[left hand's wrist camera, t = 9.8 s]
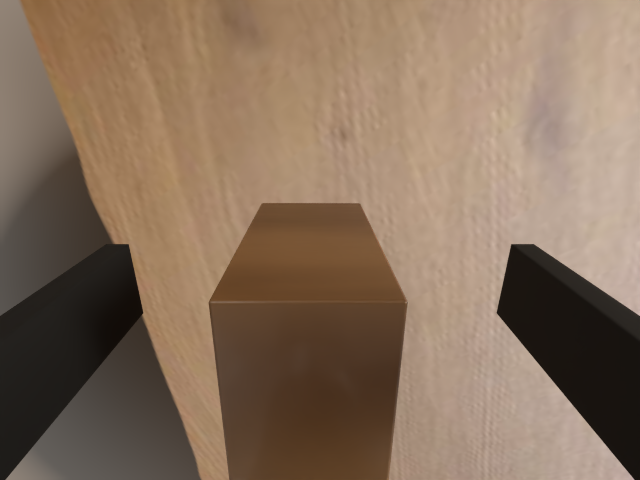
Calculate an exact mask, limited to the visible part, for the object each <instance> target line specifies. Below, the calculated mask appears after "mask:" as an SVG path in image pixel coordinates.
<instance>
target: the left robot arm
mask: <svg viewBox="0 0 640 480" xmlns="http://www.w3.org/2000/svg"><path fill="white" fill-rule="evenodd" d="M142 314H143V309H142V305H141V300H140V295H139V291H138V286H137V281H136V277H135V272H134V267H133V263H132V258H131V253H130V249H129V244H106V245H104V246H103V247H102V248H100V249H99V250H97V251H96V252H94V253H93V254H91V255H90V256H88V257H87V258H85V259H84V260H82V261H81V262H79V263H78V264H76V265H75V266H73V267H72V268H71V269H69V270H68V271H66V272H65V273H63V274H62V275H60V276H59V277H57V278H56V279H54V280H53V281H51V282H50V283H48V284H47V285H45V286H44V287H42V288H41V289H40V290H38V291H37V292H35V293H34V294H32V295H31V296H29V297H28V298H26V299H25V300H23V301H22V302H20V303H19V304H17V305H16V306H14V307H13V308H11V309H10V310H9V311H7V312H6V313H4V314H3V315H1V316H0V480H5V479H6V478H7V477H8V476H9V475H10V473H11V472H12V471H13V470H14V469H15V467H16V466H17V465H18V464H19V463H20V461H21V460H22V459H23V458H24V457H25V455H26V454H27V453H28V452H29V451H30V449H31V448H32V447H33V446H34V444H35V443H36V442H37V441H38V440H39V438H40V437H41V436H42V435H43V434H44V432H45V431H46V430H47V429H48V428H49V426H50V425H51V424H52V423H53V422H54V420H55V419H56V418H57V417H58V415H59V414H60V413H61V412H62V411H63V409H64V408H65V407H66V406H67V405H68V403H69V402H70V401H71V400H72V398H73V397H74V396H75V395H76V394H77V392H78V391H79V390H80V389H81V388H82V386H83V385H84V384H85V383H86V382H87V380H88V379H89V378H90V377H91V376H92V374H93V373H94V372H95V371H96V369H97V368H98V367H99V366H100V365H101V364H102V362H103V361H104V360H105V359H106V357H107V356H108V355H109V354H110V353H111V351H112V350H113V349H114V348H115V347H116V345H117V344H118V343H119V342H120V340H121V339H122V338H123V337H124V336H125V335H126V333H127V332H128V331H129V330H130V328H131V327H132V326H133V325H134V324H135V322H136V321H137V320H138V319H139V318H140V316H141V315H142ZM497 314H498V315H499V316H500V318H501V319H502V320H503V321H504V322H505V324H506V325H507V326H508V327H509V328H510V330H511V331H512V332H513V333H514V335H515V336H516V337H517V338H518V339H519V341H520V342H521V343H522V344H523V345H524V347H525V348H526V349H527V350H528V351H529V353H530V354H531V355H532V356H533V357H534V359H535V360H536V361H537V362H538V364H539V365H540V366H541V367H542V368H543V370H544V371H545V372H546V373H547V374H548V376H549V377H550V378H551V379H552V380H553V382H554V383H555V384H556V385H557V386H558V388H559V389H560V390H561V391H562V393H563V394H564V395H565V396H566V397H567V399H568V400H569V401H570V402H571V403H572V405H573V406H574V407H575V408H576V409H577V411H578V412H579V413H580V414H581V415H582V417H583V418H584V419H585V420H586V422H587V423H588V424H589V425H590V426H591V428H592V429H593V430H594V431H595V432H596V434H597V435H598V436H599V437H600V438H601V440H602V441H603V442H604V443H605V444H606V446H607V447H608V448H609V449H610V451H611V452H612V453H613V454H614V455H615V457H616V458H617V459H618V460H619V461H620V463H621V464H622V465H623V466H624V467H625V469H626V470H627V471H628V472H629V473H630V475H631V476H632V477H633V478H634V480H640V316H639V315H637V314H636V313H634V312H633V311H631V310H630V309H629V308H627V307H626V306H624V305H623V304H621V303H620V302H618V301H617V300H615V299H614V298H612V297H611V296H609V295H608V294H606V293H605V292H603V291H602V290H600V289H599V288H598V287H596V286H595V285H593V284H592V283H590V282H589V281H587V280H586V279H584V278H583V277H581V276H580V275H578V274H577V273H575V272H574V271H572V270H571V269H569V268H568V267H567V266H565V265H564V264H562V263H561V262H559V261H558V260H556V259H555V258H553V257H552V256H550V255H549V254H547V253H546V252H544V251H543V250H541V249H540V248H538V247H537V246H536V245H534V244H511V249H510V253H509V258H508V263H507V267H506V272H505V277H504V281H503V286H502V291H501V295H500V300H499V305H498V309H497Z"/></svg>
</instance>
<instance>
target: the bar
mask: <svg viewBox="0 0 640 480" xmlns="http://www.w3.org/2000/svg"><path fill="white" fill-rule="evenodd" d="M209 309H210V318H211V326H212V335H213V343H214V352H215V360H216V369H217V378H218V386H219V395H220V403H221V412H222V420H223V429H224V438H225V446H226V455H227V463H228V472H229V480H389V471H390V462H391V452H392V443H393V433H394V424H395V415H396V405H397V396H398V387H399V377H400V368H401V359H402V349H403V340H404V331H405V321H406V312H407V300H406V298H405V296H404V294H403V291H402V289H401V287H400V285H399V283H398V281H397V279H396V277H395V275H394V273H393V271H392V269H391V267H390V265H389V263H388V260H387V258H386V256H385V254H384V252H383V250H382V248H381V246H380V244H379V242H378V240H377V238H376V236H375V234H374V231H373V229H372V227H371V225H370V223H369V221H368V219H367V217H366V215H365V213H364V211H363V209H362V207H361V205H360V204H359V203H262V204H261V206H260V208H259V210H258V212H257V214H256V215H255V217H254V219H253V221H252V223H251V225H250V226H249V228H248V230H247V232H246V234H245V236H244V238H243V239H242V241H241V243H240V245H239V247H238V249H237V251H236V252H235V254H234V256H233V258H232V260H231V262H230V264H229V265H228V267H227V269H226V271H225V273H224V275H223V277H222V278H221V280H220V282H219V284H218V286H217V288H216V290H215V291H214V293H213V295H212V297H211V299H210V301H209Z"/></svg>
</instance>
